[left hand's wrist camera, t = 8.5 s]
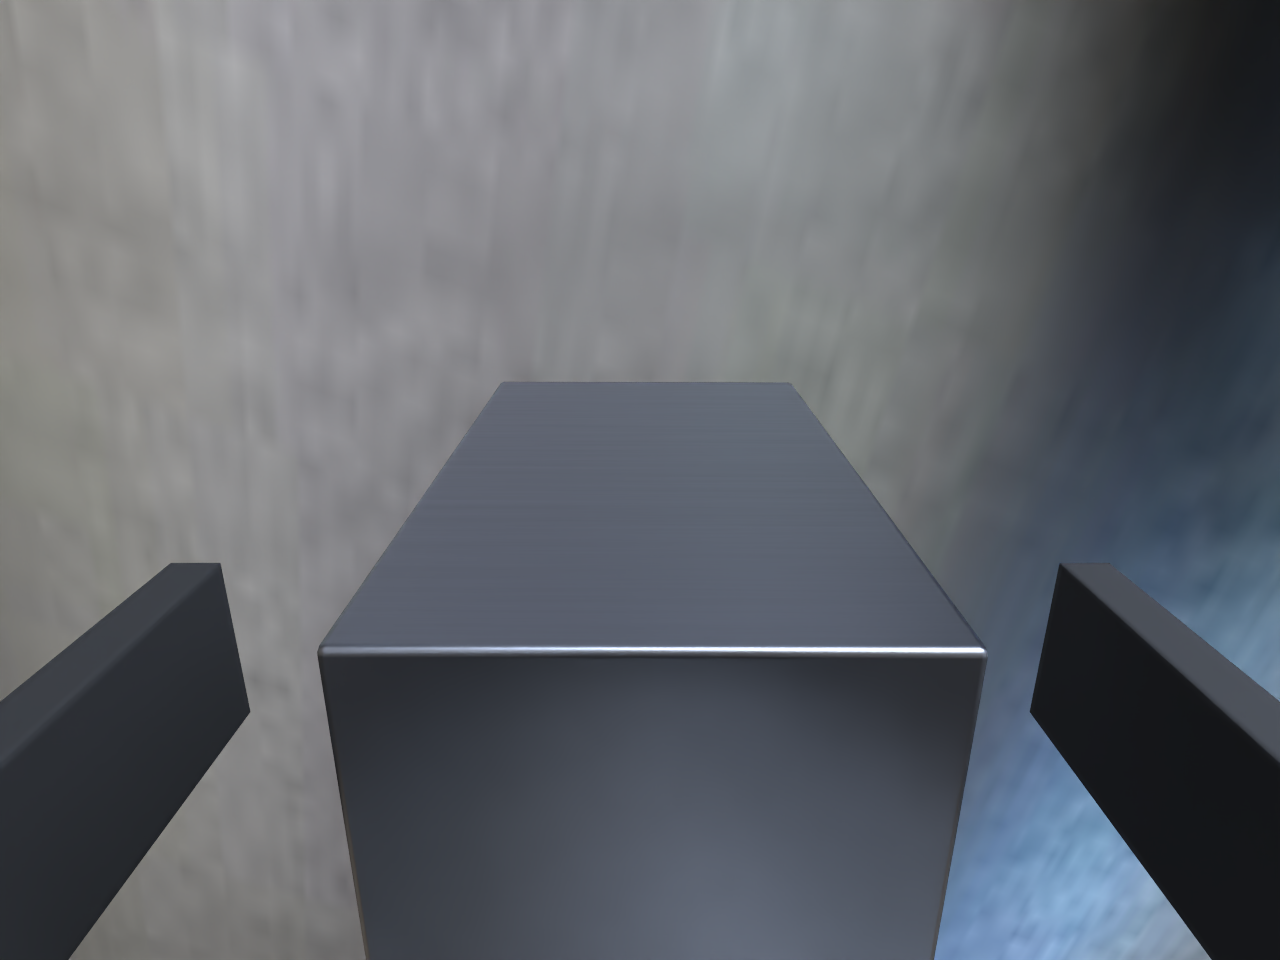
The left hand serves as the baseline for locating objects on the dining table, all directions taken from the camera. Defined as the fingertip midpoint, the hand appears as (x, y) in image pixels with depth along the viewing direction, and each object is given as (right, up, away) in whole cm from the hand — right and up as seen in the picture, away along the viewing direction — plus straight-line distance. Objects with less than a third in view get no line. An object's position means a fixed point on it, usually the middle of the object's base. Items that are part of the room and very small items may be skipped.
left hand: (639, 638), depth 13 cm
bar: (0, -6, +5) cm, 8 cm away
